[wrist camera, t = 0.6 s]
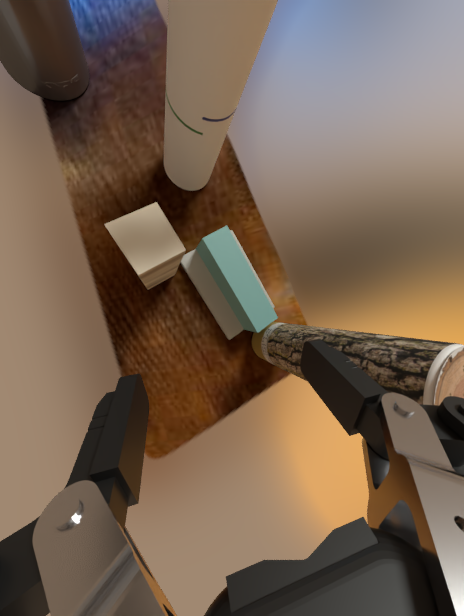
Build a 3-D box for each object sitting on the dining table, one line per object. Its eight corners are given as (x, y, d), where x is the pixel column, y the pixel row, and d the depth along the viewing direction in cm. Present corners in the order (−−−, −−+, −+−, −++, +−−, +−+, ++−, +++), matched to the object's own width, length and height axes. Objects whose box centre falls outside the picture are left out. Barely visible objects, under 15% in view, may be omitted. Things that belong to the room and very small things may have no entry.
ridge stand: (178, 259, 31) (182, 248, 25) (229, 231, 34) (244, 216, 28) (227, 339, 34) (241, 345, 28) (271, 307, 37) (292, 306, 31)
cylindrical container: (213, 191, 33) (349, -102, 9) (168, 190, 31) (199, -204, 7) (205, 145, 32) (327, -279, 9) (159, 141, 30) (160, -451, 7)
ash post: (129, 262, 29) (104, 224, 16) (157, 248, 30) (156, 201, 17) (147, 290, 30) (138, 275, 16) (174, 275, 31) (186, 250, 18)
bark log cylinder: (262, 366, 36) (457, 477, 12) (242, 336, 35) (419, 395, 11) (289, 343, 38) (501, 401, 14) (271, 313, 37) (473, 323, 13)
